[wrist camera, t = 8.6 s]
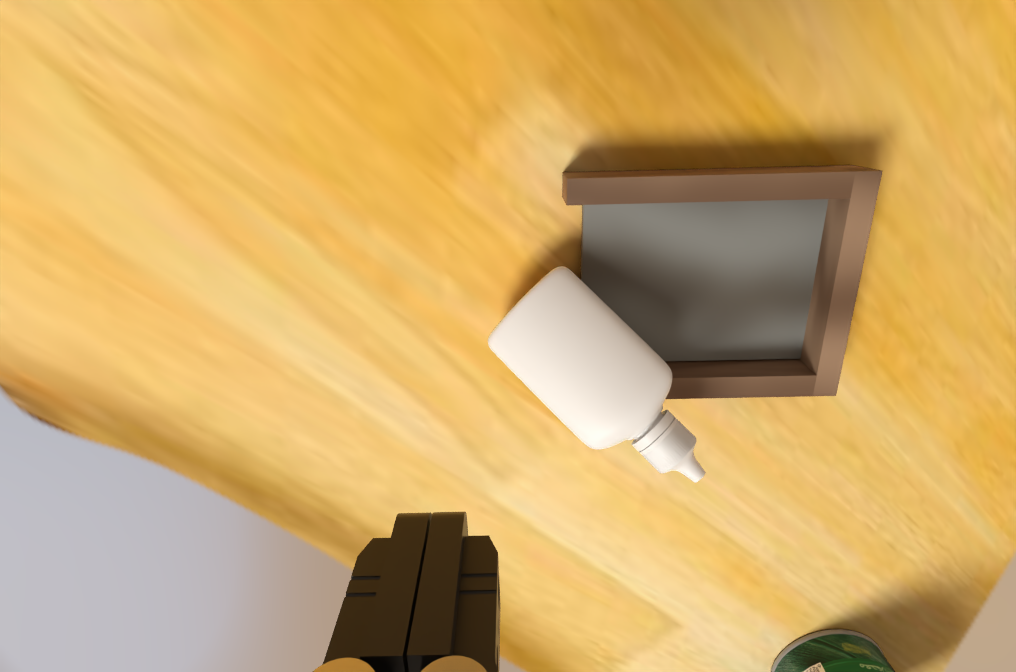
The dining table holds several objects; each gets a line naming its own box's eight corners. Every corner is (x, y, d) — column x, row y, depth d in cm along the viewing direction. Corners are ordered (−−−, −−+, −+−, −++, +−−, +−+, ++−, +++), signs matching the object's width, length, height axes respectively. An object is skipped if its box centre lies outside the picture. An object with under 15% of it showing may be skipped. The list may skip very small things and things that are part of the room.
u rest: (562, 172, 29) (566, 178, 27) (852, 165, 29) (882, 170, 27) (560, 379, 33) (564, 400, 31) (813, 374, 33) (836, 395, 31)
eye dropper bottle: (551, 289, 33) (711, 445, 31) (479, 351, 31) (646, 523, 29) (571, 250, 29) (757, 427, 27) (490, 319, 27) (686, 516, 25)
